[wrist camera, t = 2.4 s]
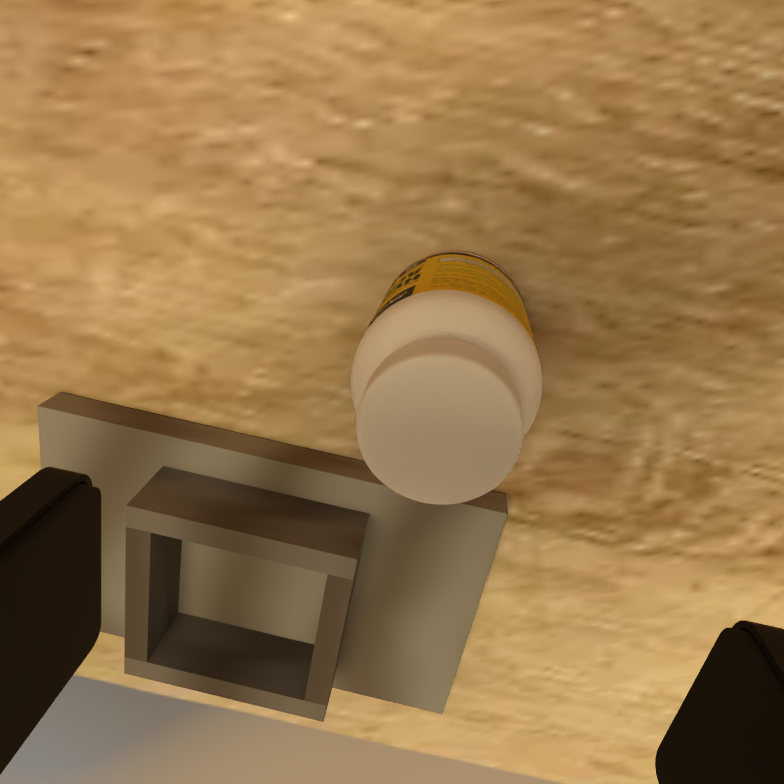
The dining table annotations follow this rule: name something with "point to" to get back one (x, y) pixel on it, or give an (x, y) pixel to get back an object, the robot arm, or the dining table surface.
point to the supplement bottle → (446, 380)
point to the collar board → (271, 562)
